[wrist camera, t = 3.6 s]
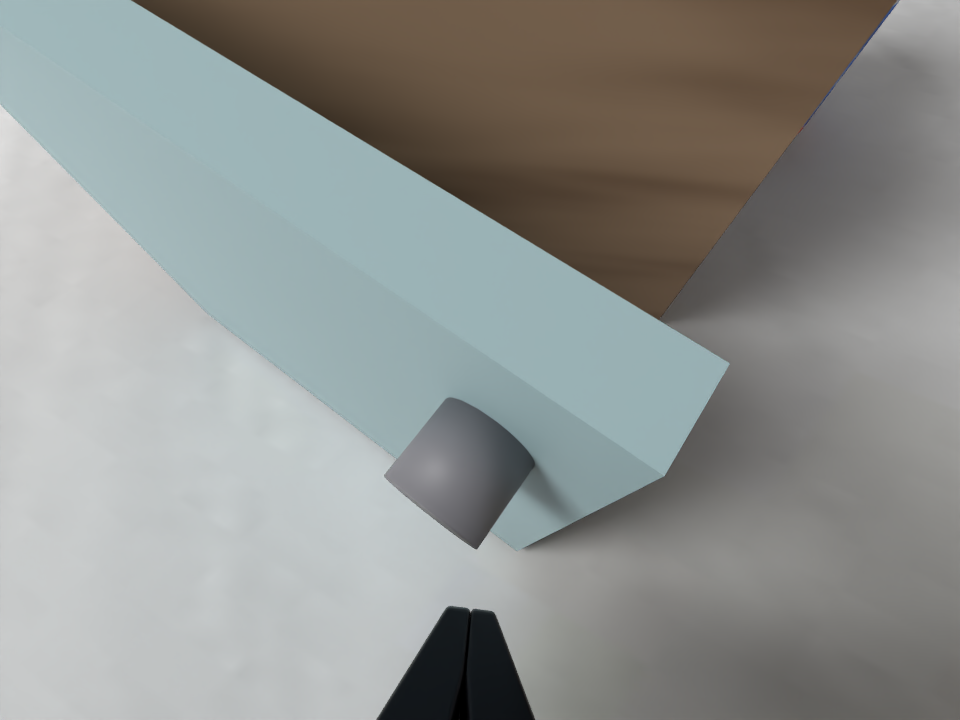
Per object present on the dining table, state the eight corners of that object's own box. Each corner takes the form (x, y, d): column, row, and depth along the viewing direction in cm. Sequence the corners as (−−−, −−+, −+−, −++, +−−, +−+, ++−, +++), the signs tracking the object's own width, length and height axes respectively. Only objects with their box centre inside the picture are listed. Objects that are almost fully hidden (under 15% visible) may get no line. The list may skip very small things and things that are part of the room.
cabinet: (655, 324, 20) (1107, -281, 6) (194, 275, 20) (-421, -403, 6) (651, 182, 22) (950, -459, 8) (245, 141, 23) (-100, -536, 9)
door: (161, 320, 19) (-373, -126, 7) (211, 276, 20) (-190, -194, 8) (494, 584, 16) (584, 613, 4) (538, 518, 16) (729, 363, 4)
